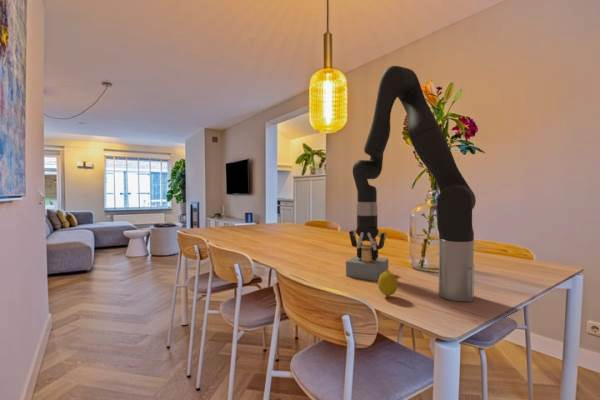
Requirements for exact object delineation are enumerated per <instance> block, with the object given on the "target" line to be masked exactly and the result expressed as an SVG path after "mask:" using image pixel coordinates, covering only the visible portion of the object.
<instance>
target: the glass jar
mask: <svg viewBox="0 0 600 400" xmlns="http://www.w3.org/2000/svg"><path fill="white" fill-rule="evenodd" d="M360 248H361V261H364V262H371V263H372V262H374V260H373V250H374V249H373V246H372V244H371V243H363V244H362V245H360Z"/></svg>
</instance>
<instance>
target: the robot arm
mask: <svg viewBox="0 0 600 400" xmlns="http://www.w3.org/2000/svg"><path fill="white" fill-rule="evenodd" d="M381 75H382V76H381V78H380V81H379V84H378V91H377V97H376V102H375V108H374V113H373V117H372V122H371V125H370V126H371V127H370V129H369V134H368V136H367V139H366V142H365V145H364V148H363V150H364V153H365V154H366V155H368V156H369V160H368V159H366V160H365V159H360V160H357V161H355V163H354V164H353V166H352V176H353V179H354V183H355V187H356V191H357V194H356V195H357V196H356V197H357V203H356V230H350V231H348V233H349V234H348V235H349V239H350V242H351V247H353V248H354V247H355V248H356V256H357V257H358V258H359V259H361V248H360V245H362V244H364V242H369V243H370V244H372V246H373V249H374V250H373V260H376V259H377V258H379V250H382V249H383V248H384V246H385V241H386V236H387V232H385V231H384V232H382V231H379V229H378V228H379V227H378V223H379V222H378V203H377V199H378V198H377V196H378V195H377V194H378V191H377V190H378V189H377V188H376V186H373V185H371V184H370V183H369V180H375V179H378V177H379V176H380V175H381V173H382V170H383V164H384V163H383V161H384V152H385V150H386V147H387V145H388V141H389V138H390V136H391V116H392V115H391V114H392V109H393V108H394V107H393V105H394V104H395V101H396V99H399V101H400V103H401V104H402V106H403V109H404V110H405V113H406V116H407V133H408V138H409V140H410V142H411V145H412V147H413V149H414V151H415V153H416V155H417V157H419V159H420V161H421V162H422V164H424V166H425V167H426V168H427V170H428V171H429V172H430V174H431V175H432V177H433V178H434V180H435V182H436V185H437V187H438V190H439V194H438V196H437V201H436V222H437V223H436V225H437V230H438V295H439V296H440V297H441V298H443V299H445V300H449V301H455V302H470V303H472V302H473V300H474V297H475V265H474V258H475V257H474V250H475V249H474V246H475V243H474V242H475V237H474V235H475V232H474V231H475V230H474V227H473V209H475V205H476V200H477V199H476V196H475V193H474V191H473V190H472V189H471V187H470V186H469V184H468V182H467V181H466V180H465V178H464V176H463V174H462V172H461V171H460V170H459V168H458V166H457V163H456V160H455V158H454V156H453V153H452V151H451V148H450V145H449V144H448V142H447V139H446V137H445V135H444V133H443V130H442V129H441V127H440V125H439V123H438V121H437V119H436V118H435V114H434V113H433V111H432V109H431V107H430V106H429V104H428V102H427V100H426V97H425V95H424V91H423V89H422V86H421V83H420V80H419V77H418V76H417V74H416V72H415V71H413V69H411V68H407V67H404V66H398V65H391V66H389V67H388V68H386V69H385V70H384V71H383V73H382V74H381ZM356 236H358V237H359V238H358V240H357V237H356ZM377 237H378V238H379V243H378V240H377Z"/></svg>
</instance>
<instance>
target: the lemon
mask: <svg viewBox="0 0 600 400" xmlns="http://www.w3.org/2000/svg"><path fill="white" fill-rule="evenodd" d="M377 285H378V289H379V292H380V293H382V294H383V295H385V296H386V297H387V298H389V297H391V296H392V295H394V294H395V293H396V291H397V289H398V280H397V277H396V275H395V274H394V273H393V272H390V271H389V270H388V271H386V272H383V273H382V274H381V275H380V277H379V280H378V281H377Z"/></svg>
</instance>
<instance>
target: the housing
mask: <svg viewBox="0 0 600 400" xmlns="http://www.w3.org/2000/svg"><path fill="white" fill-rule="evenodd" d="M386 271H389V258H386V257H378V258H377V259H376V260H374V262H372V263H371V262H364V261H361V259H359V258H358V257H357V255H356V256H354V257H352V258H350V259H348V260H346V261H345V276H346V277H348V278H357V279H361V280H369V281H374V282H378V280H379V277H380V275H381V274H382V273H383V272H386Z"/></svg>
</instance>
